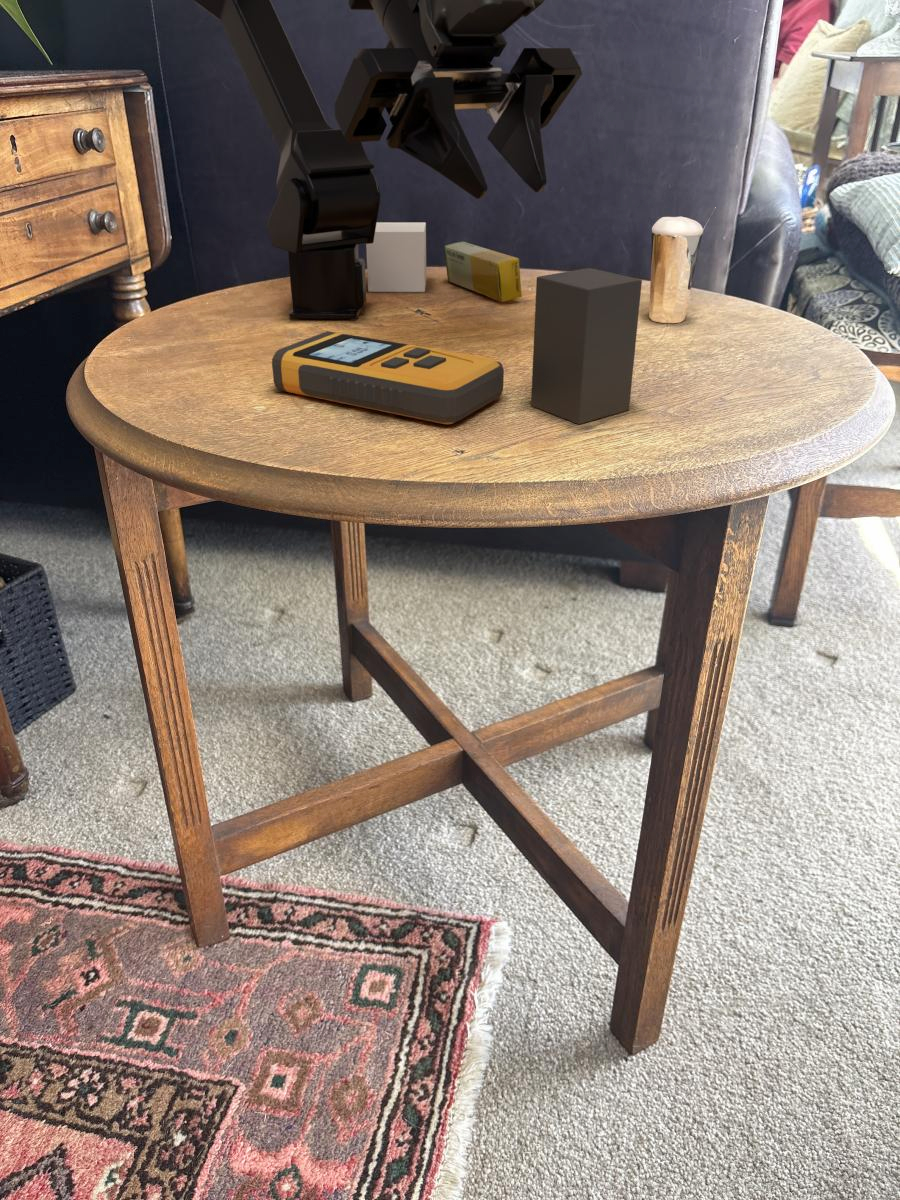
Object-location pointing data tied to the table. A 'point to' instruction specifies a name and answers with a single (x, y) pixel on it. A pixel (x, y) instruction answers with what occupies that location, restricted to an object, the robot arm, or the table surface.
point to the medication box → (483, 271)
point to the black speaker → (584, 343)
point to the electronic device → (388, 376)
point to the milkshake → (673, 266)
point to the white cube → (397, 257)
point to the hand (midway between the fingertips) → (513, 191)
